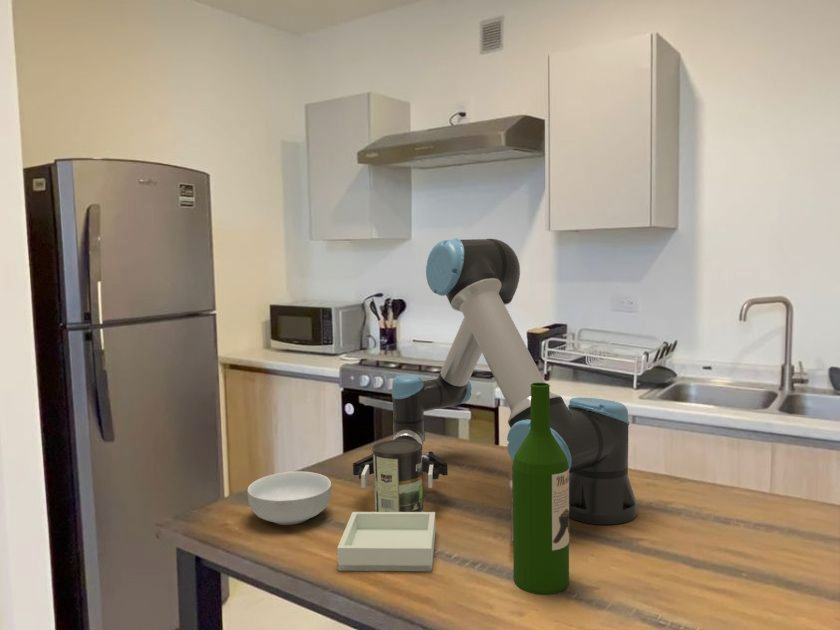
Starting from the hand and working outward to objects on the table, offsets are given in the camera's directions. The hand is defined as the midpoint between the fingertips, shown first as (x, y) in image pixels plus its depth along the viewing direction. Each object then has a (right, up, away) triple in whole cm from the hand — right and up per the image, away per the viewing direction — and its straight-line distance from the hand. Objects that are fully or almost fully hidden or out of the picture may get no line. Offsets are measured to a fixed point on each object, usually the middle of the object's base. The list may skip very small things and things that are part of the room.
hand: (396, 481), depth 137 cm
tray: (-1, -9, -14) cm, 17 cm away
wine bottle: (+25, -10, -26) cm, 37 cm away
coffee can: (0, -8, +4) cm, 9 cm away
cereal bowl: (-22, -8, +2) cm, 23 cm away
